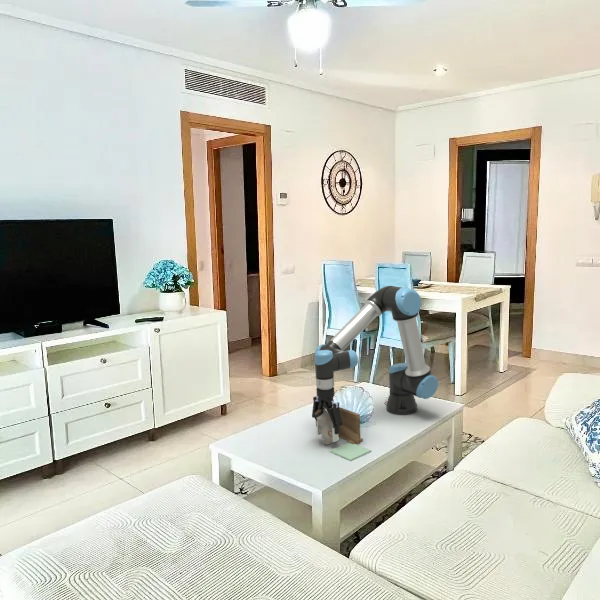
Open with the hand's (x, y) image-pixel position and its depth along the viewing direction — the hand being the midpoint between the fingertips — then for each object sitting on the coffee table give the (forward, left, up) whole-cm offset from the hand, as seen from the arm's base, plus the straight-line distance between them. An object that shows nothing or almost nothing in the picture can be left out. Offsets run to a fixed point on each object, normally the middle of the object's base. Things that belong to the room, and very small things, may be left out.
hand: (327, 437), depth 231 cm
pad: (-2, +12, -3) cm, 12 cm away
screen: (-10, 0, -3) cm, 10 cm away
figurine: (0, 0, -3) cm, 3 cm away
